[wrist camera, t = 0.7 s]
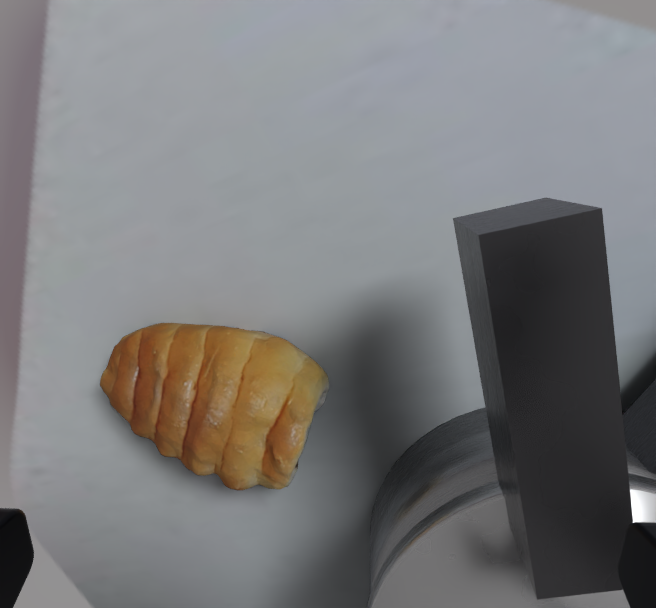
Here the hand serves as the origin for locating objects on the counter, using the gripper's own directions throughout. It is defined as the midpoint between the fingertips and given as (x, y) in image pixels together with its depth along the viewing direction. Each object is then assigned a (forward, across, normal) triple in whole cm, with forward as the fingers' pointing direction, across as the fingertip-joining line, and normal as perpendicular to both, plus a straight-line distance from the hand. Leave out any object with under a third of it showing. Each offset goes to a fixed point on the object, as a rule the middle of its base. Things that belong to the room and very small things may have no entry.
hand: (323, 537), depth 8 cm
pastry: (+14, +4, +6) cm, 16 cm away
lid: (+8, -8, +8) cm, 13 cm away
